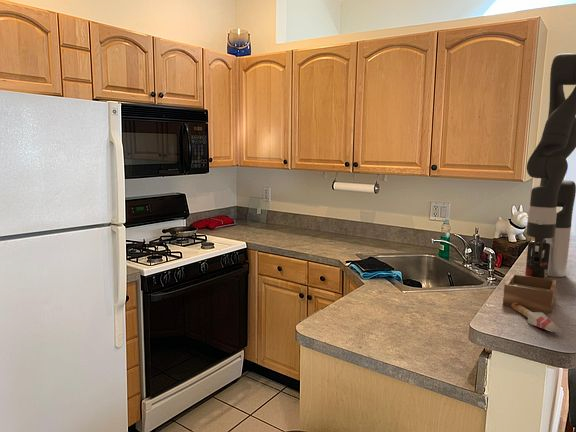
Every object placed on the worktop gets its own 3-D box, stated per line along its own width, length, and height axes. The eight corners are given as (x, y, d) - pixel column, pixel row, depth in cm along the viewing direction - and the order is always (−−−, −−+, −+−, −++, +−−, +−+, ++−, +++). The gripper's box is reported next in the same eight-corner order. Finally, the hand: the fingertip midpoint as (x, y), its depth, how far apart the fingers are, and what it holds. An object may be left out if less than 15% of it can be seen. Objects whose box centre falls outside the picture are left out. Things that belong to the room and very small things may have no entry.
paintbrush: (548, 325, 102) (508, 300, 122) (548, 336, 102) (507, 310, 122) (565, 325, 102) (522, 300, 122) (565, 337, 102) (521, 310, 122)
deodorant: (526, 286, 142) (530, 240, 140) (547, 290, 138) (552, 243, 136) (521, 290, 138) (526, 243, 135) (543, 294, 134) (548, 246, 132)
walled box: (510, 292, 136) (512, 273, 135) (554, 300, 129) (556, 280, 128) (502, 305, 124) (504, 284, 123) (550, 314, 118) (552, 292, 117)
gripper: (530, 217, 143) (525, 268, 145) (524, 222, 131) (519, 278, 133) (557, 219, 139) (552, 271, 141) (554, 225, 127) (548, 282, 129)
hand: (536, 274), depth 137 cm, fingers closed on deodorant, 6 cm apart
